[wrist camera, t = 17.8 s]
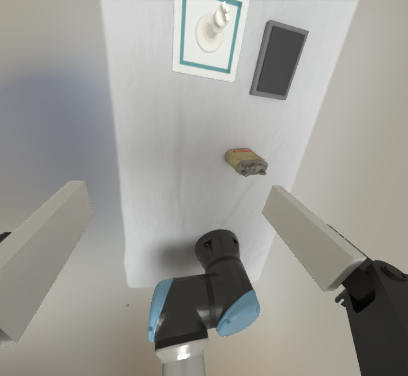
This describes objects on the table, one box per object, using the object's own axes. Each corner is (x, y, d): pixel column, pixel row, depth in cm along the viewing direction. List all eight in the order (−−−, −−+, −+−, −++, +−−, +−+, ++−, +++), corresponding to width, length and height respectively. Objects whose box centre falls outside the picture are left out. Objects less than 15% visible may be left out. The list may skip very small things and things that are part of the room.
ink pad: (282, 99, 35) (286, 100, 34) (249, 94, 33) (253, 94, 32) (304, 33, 30) (310, 30, 28) (266, 22, 28) (271, 18, 27)
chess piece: (216, 7, 26) (239, -35, 17) (227, 44, 28) (252, 23, 20) (189, 24, 26) (199, -8, 18) (203, 59, 29) (217, 45, 20)
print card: (233, 82, 32) (234, 82, 31) (172, 71, 29) (172, 70, 29) (249, -6, 26) (251, -7, 25) (175, -30, 23) (175, -32, 23)
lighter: (252, 148, 40) (275, 162, 31) (250, 162, 42) (271, 179, 33) (225, 149, 39) (241, 165, 30) (224, 163, 41) (239, 182, 32)
